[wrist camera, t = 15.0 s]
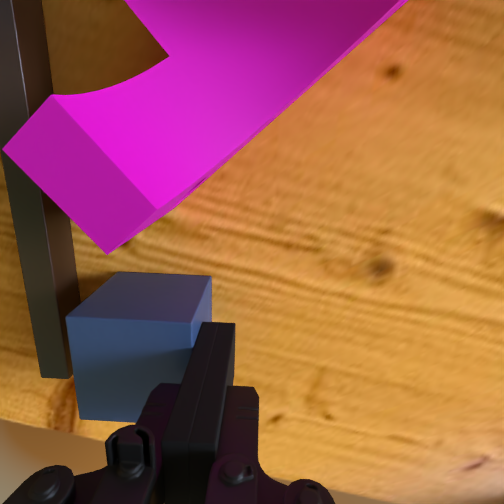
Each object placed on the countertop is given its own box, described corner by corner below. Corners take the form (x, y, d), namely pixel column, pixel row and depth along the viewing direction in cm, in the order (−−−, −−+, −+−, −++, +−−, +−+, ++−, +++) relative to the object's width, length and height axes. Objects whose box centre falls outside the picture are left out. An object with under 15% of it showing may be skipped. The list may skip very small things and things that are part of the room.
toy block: (352, -190, 12) (476, -665, 5) (443, -32, 14) (644, -230, 6) (79, 103, 16) (-79, 68, 8) (174, 207, 17) (107, 254, 10)
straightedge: (-4, -74, 14) (-49, -110, 12) (32, -73, 14) (-6, -110, 12) (62, 355, 20) (40, 378, 18) (88, 356, 20) (69, 379, 18)
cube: (117, 270, 18) (64, 316, 13) (211, 275, 18) (192, 323, 13) (124, 352, 19) (79, 420, 15) (211, 357, 19) (194, 427, 15)
